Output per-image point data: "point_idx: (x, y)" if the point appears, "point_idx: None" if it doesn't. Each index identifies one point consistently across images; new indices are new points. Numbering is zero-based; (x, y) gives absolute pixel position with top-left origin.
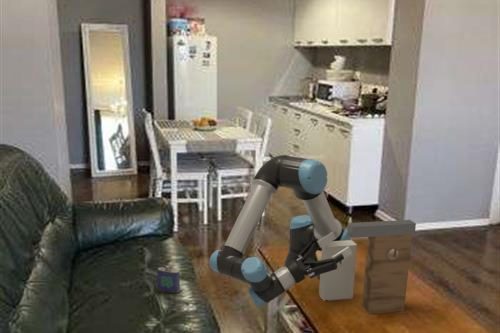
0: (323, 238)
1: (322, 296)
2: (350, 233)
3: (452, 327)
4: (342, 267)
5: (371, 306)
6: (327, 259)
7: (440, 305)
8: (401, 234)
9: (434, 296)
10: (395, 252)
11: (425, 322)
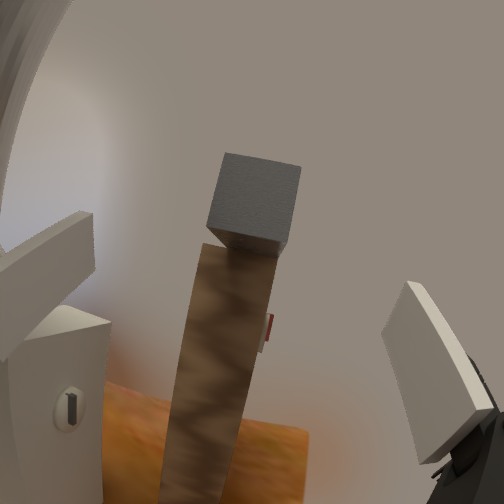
0: (27, 252)
1: None
2: (262, 215)
3: (305, 448)
4: (72, 434)
5: None
6: (489, 471)
7: None
8: None
9: None
10: (271, 324)
11: (282, 467)
